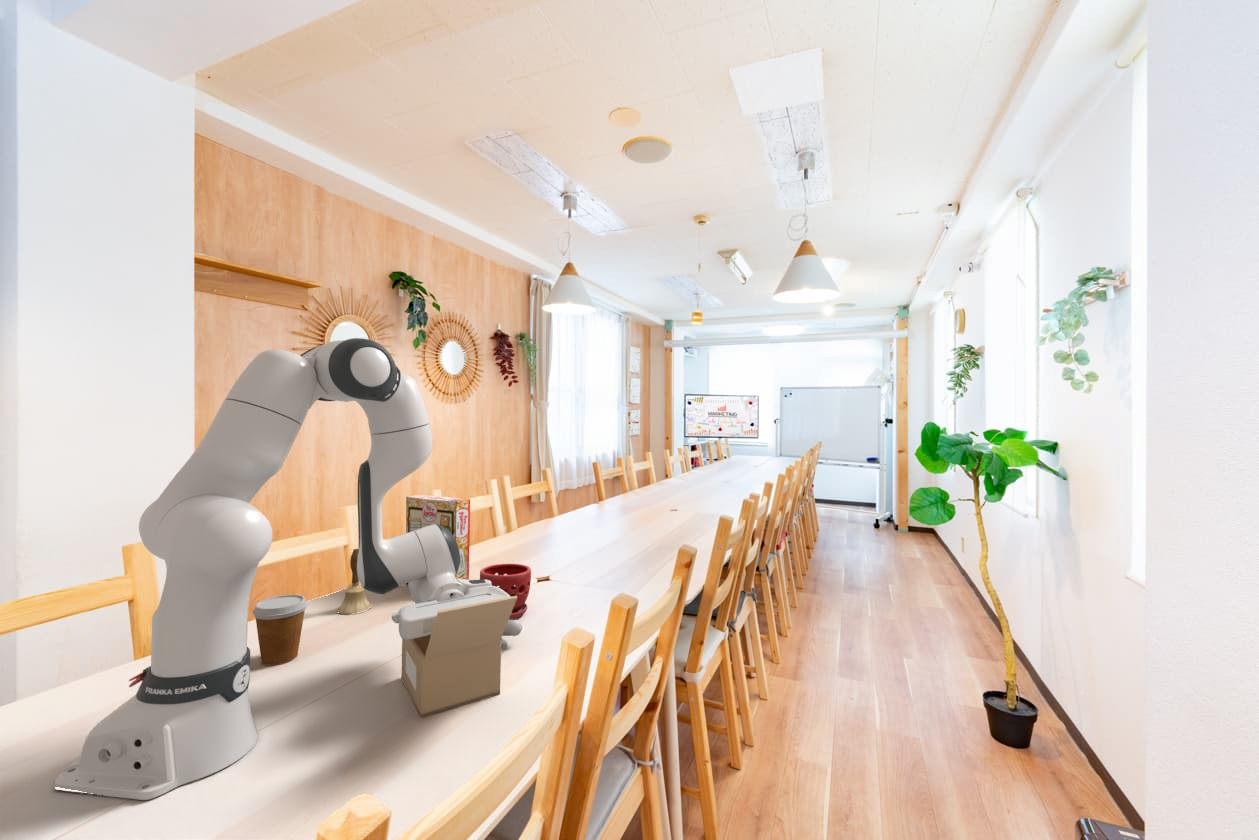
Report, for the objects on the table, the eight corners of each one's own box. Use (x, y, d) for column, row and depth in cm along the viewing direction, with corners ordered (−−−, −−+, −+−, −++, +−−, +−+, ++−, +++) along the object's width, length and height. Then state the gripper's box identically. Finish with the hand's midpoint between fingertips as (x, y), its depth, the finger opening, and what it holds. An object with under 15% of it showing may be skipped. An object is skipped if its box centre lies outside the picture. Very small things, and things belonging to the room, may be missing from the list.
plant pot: (538, 617, 132) (539, 571, 132) (488, 627, 124) (489, 579, 124) (519, 601, 142) (519, 559, 142) (472, 610, 135) (473, 565, 135)
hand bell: (378, 607, 136) (379, 548, 136) (347, 617, 129) (348, 554, 129) (361, 601, 140) (362, 543, 140) (330, 610, 133) (331, 549, 133)
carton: (400, 678, 99) (401, 627, 99) (472, 659, 108) (473, 612, 108) (420, 718, 86) (421, 659, 86) (500, 693, 94) (501, 640, 94)
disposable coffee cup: (246, 658, 106) (248, 601, 106) (299, 644, 113) (300, 590, 113) (257, 674, 100) (258, 613, 100) (312, 658, 107) (313, 601, 107)
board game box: (469, 588, 153) (471, 498, 153) (454, 594, 147) (456, 501, 147) (419, 578, 161) (421, 493, 161) (403, 584, 155) (405, 495, 155)
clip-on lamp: (438, 655, 116) (491, 659, 106) (432, 628, 116) (485, 629, 106) (477, 633, 126) (530, 634, 116) (472, 607, 126) (524, 606, 116)
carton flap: (438, 610, 80) (438, 612, 80) (516, 595, 88) (517, 597, 88) (424, 657, 87) (425, 659, 86) (499, 639, 94) (499, 641, 94)
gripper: (389, 596, 93) (407, 623, 82) (496, 577, 105) (524, 599, 94) (389, 630, 94) (406, 662, 82) (495, 608, 106) (523, 632, 94)
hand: (470, 628), depth 88 cm, fingers closed, pressing on carton flap
